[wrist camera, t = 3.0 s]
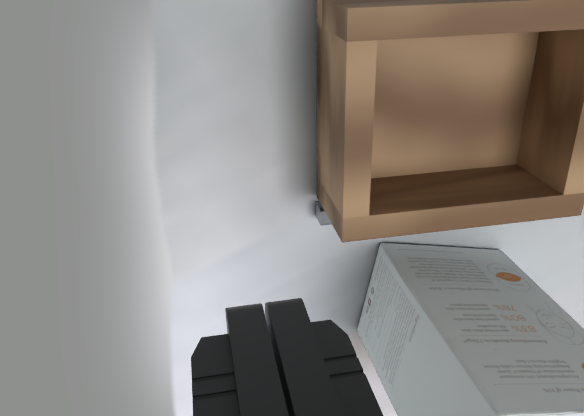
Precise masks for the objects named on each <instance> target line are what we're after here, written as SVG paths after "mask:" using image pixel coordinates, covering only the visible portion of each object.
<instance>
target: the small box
mask: <svg viewBox="0 0 584 416" xmlns="http://www.w3.org/2000/svg"><path fill="white" fill-rule="evenodd" d="M357 332H358V334H359V336H360V338H361V340H362V342H363V344H364V347H365V349H366V351H367V353H368V355H369V357H370V359H371V361H372V363H373V365H374V367H375V370H376V372H377V374H378V376H379V378H380V380H381V382H382V384H383V387H384V389H385V391H386V393H387V395H388V397H389V399H390V401H391V403H392V405H393V407H394V409H395V411H396V413H397V415H398V416H584V329H583V328H582V327H581V326H580V325H579V324H578V323H577V322H576V321H575V320H574V319H573V318H572V317H571V316H570V315H569V314H567V313H566V312H565V311H564V310H563V309H562V308H561V307H560V306H559V305H558V304H557V303H556V302H555V301H554V300H553V299H552V298H551V297H550V296H548V295H547V294H546V293H545V292H544V291H543V290H542V289H541V288H540V287H539V286H538V285H537V284H536V283H535V282H534V281H533V280H532V279H531V278H530V277H529V276H527V275H526V274H525V273H524V272H523V271H522V270H521V269H520V268H519V267H518V266H517V265H516V264H515V263H514V262H513V261H512V260H511V259H510V258H509V257H508V256H507V255H506V254H505V253H504V252H502V251H501V250H490V249H476V248H460V247H445V246H428V245H409V244H393V243H381V244H380V246H379V250H378V254H377V257H376V261H375V265H374V268H373V272H372V276H371V280H370V284H369V287H368V291H367V295H366V299H365V302H364V306H363V310H362V314H361V318H360V322H359V325H358V329H357Z"/></svg>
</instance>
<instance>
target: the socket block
mask: <svg viewBox="0 0 584 416" xmlns="http://www.w3.org/2000/svg"><path fill="white" fill-rule="evenodd" d="M317 198H318V200H319V201H320V203H321V205H322V207H323V209H324V210H325V212H326V214H327V216H328V218H329V219H330V221H331V223H332V225H333V227H334V228H335V230H336V232H337V234H338V236H339V237H340V239H341V241H342V242H350V241H359V240H368V239H376V238H385V237H394V236H403V235H412V234H420V233H429V232H438V231H447V230H455V229H464V228H473V227H482V226H491V225H499V224H508V223H517V222H526V221H534V220H543V219H552V218H561V217H570V216H578V215H581V213H582V209H583V205H584V0H317Z"/></svg>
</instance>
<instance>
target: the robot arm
mask: <svg viewBox="0 0 584 416" xmlns="http://www.w3.org/2000/svg"><path fill="white" fill-rule="evenodd" d="M265 318H266V319H265ZM226 321H227V332H228V334H224V335H217V336H209V337H202V338H201V339H200V341H199V343H198V345H197V347H196V349H195V351H194V353H193V355H192V357H191V367H192V394H193V416H383V414H382V412H381V409H380V407H379V405H378V403H377V400H376V398H375V396H374V393H373V391H372V389H371V387H370V384H369V382H368V380H367V377H366V375H365V374H364V373H363V368H362V366H361V364H360V362H359V359H358V358H357V357H356V352H355V350H354V348H353V346H352V343H351V341H350V339H349V337H348V335H347V334H346V333H345V332H344V331H343V330H342V329H341V328H339V327H338V326H337V325H336V324H335V323H334V322H332V321H331V320H325V321H317V322H310V319H309V317H308V314H307V311H306V308H305V305H304V303H303V300H302V299H301V298H298V299H291V300H283V301H275V302H267V303H265V314H264V310H263V306H262V304H253V305H245V306H238V307H230V308H226Z"/></svg>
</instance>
